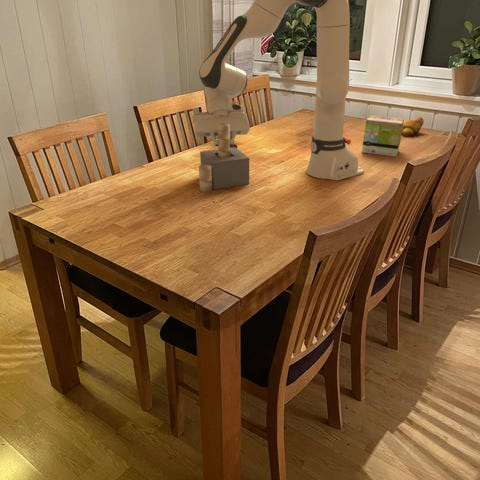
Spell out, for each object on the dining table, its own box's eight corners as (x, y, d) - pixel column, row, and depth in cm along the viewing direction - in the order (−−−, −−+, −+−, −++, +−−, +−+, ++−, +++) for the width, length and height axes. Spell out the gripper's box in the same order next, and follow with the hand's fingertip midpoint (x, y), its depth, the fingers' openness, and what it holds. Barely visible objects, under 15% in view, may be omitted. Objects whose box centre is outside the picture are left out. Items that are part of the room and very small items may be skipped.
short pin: (209, 187, 171) (208, 164, 167) (213, 191, 167) (213, 167, 163) (198, 189, 169) (197, 165, 165) (202, 193, 166) (201, 169, 162)
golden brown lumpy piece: (412, 138, 226) (415, 122, 222) (393, 135, 231) (396, 118, 228) (422, 133, 234) (426, 117, 231) (404, 129, 240) (407, 113, 236)
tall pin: (227, 170, 179) (227, 122, 170) (232, 173, 175) (231, 125, 166) (216, 171, 177) (215, 124, 168) (221, 175, 174) (220, 127, 165)
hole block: (234, 171, 185) (234, 147, 181) (249, 183, 174) (249, 157, 169) (201, 176, 181) (200, 151, 176) (213, 189, 169) (213, 162, 165)
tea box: (361, 153, 206) (365, 119, 199) (364, 146, 214) (369, 114, 207) (396, 157, 201) (402, 123, 194) (399, 150, 209) (404, 117, 202)
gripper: (192, 108, 169) (196, 142, 166) (247, 105, 173) (252, 139, 169) (191, 117, 175) (195, 150, 172) (244, 115, 179) (250, 147, 175)
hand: (224, 145), depth 170 cm, fingers closed on tall pin, 4 cm apart
